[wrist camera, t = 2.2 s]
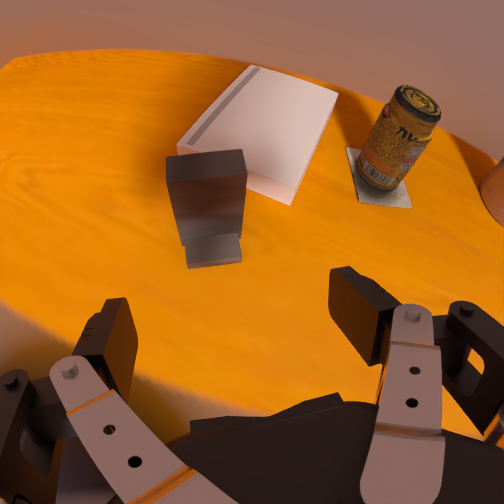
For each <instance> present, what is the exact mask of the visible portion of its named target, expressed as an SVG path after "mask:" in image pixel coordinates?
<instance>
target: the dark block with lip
mask: <svg viewBox="0 0 504 504" xmlns="http://www.w3.org/2000/svg"><path fill="white" fill-rule="evenodd" d="M247 176H248V173H247V168H246V164H245V159H244V155H243V151H242V149H233V150H222V151H212V152H203V153H194V154H186V155H178V156H170V157H166V183H167V188H168V192H169V196H170V200H171V204H172V208H173V212H174V216H175V220H176V224H177V228H178V232H179V235H180V239H181V243H182V246H185V249H186V260H187V266H188V269H194V268H202V267H210V266H217V265H225V264H232V263H240V262H241V260H242V255H241V250H240V244H239V239H240V238H241V230H242V221H243V212H244V203H245V194H246V185H247Z"/></svg>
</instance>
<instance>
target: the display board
mask: <svg viewBox="0 0 504 504" xmlns="http://www.w3.org/2000/svg"><path fill="white" fill-rule="evenodd" d="M338 94H339V93H337V92H334V91H332V90H329V89H327V88H324V87H321V86H318V85H316V84H313V83H310V82H307V81H304V80H301V79H298V78H295V77H292V76H289V75H286V74H283V73H279V72H276V71H273V70H269V69H266V68H262V67H259V66H255V65H250V66H249V67H248V68H247V69H246V70H245V71H244V72H243V73H242V74H241V75H240V76H239V77H238V78H237V79H236V80H235V81H234V82H233V83H232V84H231V85H230V86H229V87H228V88H227V89H226V90H225V91H224V92H223V93H222V94H221V95H220V96H219V97H218V98H217V99H216V100H215V101H214V102H213V103H212V104H211V106H210V107H209V108H208V109H207V110H206V111H205V112H204V113H203V114H202V115H201V117H200V118H199V119H198V120H197V121H196V122H195V123H194V124H193V126H192V127H191V128H190V129H189V130H188V131H187V132H186V134H185V135H184V136H183V137H182V138H181V139H180V141H179V142H178V143H177V144H176V145H177V151H178V155H186V154H194V153H203V152H212V151H222V150H233V149H242V151H243V155H244V159H245V164H246V168H247V173H248V176H247V185H246V188H247V189H249V190H252V191H254V192H257V193H259V194H262V195H264V196H267V197H269V198H272V199H274V200H277V201H279V202H281V203H284V204H286V205H289V206H290V205H291V203H292V201H293V199H294V196H295V194H296V192H297V190H298V188H299V185H300V183H301V181H302V179H303V176H304V174H305V172H306V170H307V168H308V165H309V163H310V161H311V159H312V156H313V154H314V152H315V150H316V147H317V145H318V143H319V141H320V138H321V136H322V134H323V132H324V129H325V127H326V125H327V122H328V120H329V118H330V116H331V113H332V111H333V109H334V106H335V103H336V100H337V97H338Z"/></svg>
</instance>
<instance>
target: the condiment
mask: <svg viewBox="0 0 504 504" xmlns="http://www.w3.org/2000/svg"><path fill="white" fill-rule="evenodd" d="M440 118H441V111H440V109H439V107H438V105H437V104H436V103H435V101H434V100H433V99H432V98H431V97H430V96H428V95H427V94H425V93H424V92H422V91H421V90H419V89H417V88H414V87H412V86H408V85H407V86H406V85H403V86H400V87H398V88H397V89H396V90H395V93H394V95H393V96H392V98H391V100H390V102H389V103H387V104H386V105H385V106H384V107H383V109H382V111H381V113H380V115H379V117H378V119H377V121H376V123H375V125H374V127H373V129H372V131H371V133H370V135H369V137H368V139H367V141H366V143H365V145H364V147H363V149H362V150H360V149H356V148H349V147H346V150H347V154H348V158H349V162H350V166H351V170H352V174H353V176H354V181H355V186H356V190H357V193H358V198H359V202H363V203H367V204H377V205H383V206H390V207H401V208H411V209H412V206H411V202H410V199H409V195H408V193H407V189H406V186H405V183H404V181H403V178H404V177H405V176H406V174H407V173H408V171H409V170H410V168H411V167H412V166H413V165H414V163H415V161H416V160H417V158H418V157H419V156H420V154H421V153H422V152H423V150H424V149H425V147H426V146H427V144H428V143H429V142H430V140H431V138H432V133H433V132H432V130H433V129H434V128H435V126H436V123H437V122H438V121H439V120H440ZM363 182H364V183H363ZM393 191H395V192H393ZM392 193H394V194H392Z"/></svg>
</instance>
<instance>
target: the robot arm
mask: <svg viewBox="0 0 504 504" xmlns="http://www.w3.org/2000/svg"><path fill="white" fill-rule="evenodd" d="M480 192H481V196H482V198H483V201H484V203H485V205H486V207H487V209H488V210H489V212H490V213H491V214H492V216H493V217H494V218H495V219H496V220H497V221H498V222H499V223H500V224H501V225H502V226H504V157H503V158H502V159H501V160H500V161H499V162H498V163H497V165H496V166H495V167H494V168H493V169H492V170H491V171H490V172H489V173H488V174H487V175H486V177H485V178H484V179H483V180H482V181H481V183H480ZM328 308H329V313H330V315H331V317H332V319H333V320H334V321H335V323H336V324H337V325H338V327H339V328H340V329H341V331H342V332H343V333H344V334H345V336H346V337H347V338H348V340H349V341H350V342H351V344H352V345H353V346H354V348H355V349H356V350H357V352H358V353H359V354H360V356H361V357H362V358H363V359H364V361H365V362H366V363H367V365H368V366H369V367H370V366H373V365H376V364H379V363H381V364H382V365H383V366H382V370H381V374H380V379H379V384H378V389H377V393H376V397H375V402H374V404H372V403H366V402H358V401H345V402H343V400H342V398H341V396H340V395H339V393H338V392H337V393H333V394H329V395H326V396H322V397H318V398H314V399H311V400H306V401H303V402H301V403H299V404H297V405H295V406H292V407H290V408H288V409H286V410H283V411H281V412H279V413H277V414H274V415H272V416H268V417H241V416H224V417H217V418H209V419H200V420H191V421H190V432H187V433H184V434H182V435H179V436H177V437H175V438H173V439H171V440H169V441H168V442H166V443H165V444H163V443H162V442H161V441H160V440H159V439H158V438H157V437H156V436H155V435H154V434H153V433H152V432H151V431H150V430H149V429H148V428H147V426H146V425H145V424H144V423H143V422H142V421H141V420H140V419H139V418H138V417H137V416H136V415H135V413H134V412H133V411H132V410H131V409H130V408H129V407H128V399H129V393H130V386H131V381H132V376H133V370H134V365H135V359H136V354H137V349H138V337H137V332H136V328H135V325H134V322H133V318H132V315H131V311H130V308H129V304H128V301H127V299H126V298H125V297H122V298H114V299H107V300H106V301H105V303H104V306H103V308H102V310H101V312H100V313H95V314H94V315H93V316H92V317H91V318H90V319H89V320H88V321H87V323H86V325H85V327H84V330H83V332H82V334H81V337H80V338H79V340H78V342H77V344H76V347H75V349H74V351H73V353H72V355H71V356H69V357H66V358H63V359H61V360H60V361H58V362H57V363H55V364H54V366H53V367H52V369H51V370H50V376H49V377H46V378H41V379H38V380H33V381H31V379H30V378H29V375H28V374H27V372H25V371H24V370H21V369H15V370H12V371H9V372H7V373H6V374H4V375H3V376H1V377H0V504H55V503H56V494H57V485H58V479H59V472H60V466H61V460H62V453H63V449H64V443H65V439H66V438H71V437H75V436H79V438H80V440H81V441H82V443H83V445H84V446H85V448H86V450H87V451H88V453H89V454H90V456H91V458H92V459H93V461H94V462H95V464H96V465H97V467H98V468H99V470H100V471H101V473H102V474H103V475H104V477H105V478H106V480H107V481H108V482H109V484H110V485H111V487H112V488H113V489H114V491H116V494H115V495H114V496H113V497H112V498H111V500H110V501H108V502H107V504H504V326H502V325H501V324H500V323H499V322H497V321H496V320H495V319H494V318H492V317H491V316H490V315H489V314H487V313H486V312H485V311H484V310H482V309H481V308H480V307H478V306H477V305H475V304H473V303H471V302H467V301H455V302H453V303H451V304H450V307H449V311H448V314H447V315H439V316H432V314H431V312H430V311H429V310H428V309H426V308H425V307H423V306H420V305H416V304H403V305H402V304H401V303H400V302H399V301H398V300H397V299H395V298H394V297H393V296H392V295H391V294H389V293H388V292H386V290H385V289H384V288H382V287H380V285H379V284H377V283H376V282H375V281H374V280H372V279H370V278H367V277H365V276H363V275H362V276H361V275H360V274H359V273H357V272H356V271H355V270H354V269H353V268H351V267H350V266H346V267H340V268H334V269H331V271H330V275H329V297H328ZM471 349H473V350H474V351H476V352H477V353H478V354H479V355H480V356H481V357H482V359H483V361H484V372H483V374H482V375H481V374H480V373H479V372H478V370H477V369H476V368H475V367H474V366H473V365H472V364H471V363H470V362H469V361H468V360H467V359H468V357H469V354H470V352H471ZM442 385H443V386H444V387H445V388H446V390H447V391H448V392H449V393H450V395H451V396H452V397H453V398H454V400H455V401H456V402H457V403H458V405H459V406H460V407H461V408H462V410H463V411H464V412H465V414H466V415H467V416H468V417H469V419H470V420H471V421H472V423H473V424H474V425H475V426H476V428H477V429H478V430H479V432H480V433H481V434H482V436H483V440H484V441H480V440H477V439H473V438H470V437H467V436H463V435H460V434H457V433H454V432H451V431H448V430H445V429H442V428H441V422H442ZM23 430H24V431H25V432H26V433H27V436H26V439H25V442H24V446H23V449H22V452H21V450H20V437H21V434H22V431H23Z"/></svg>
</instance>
